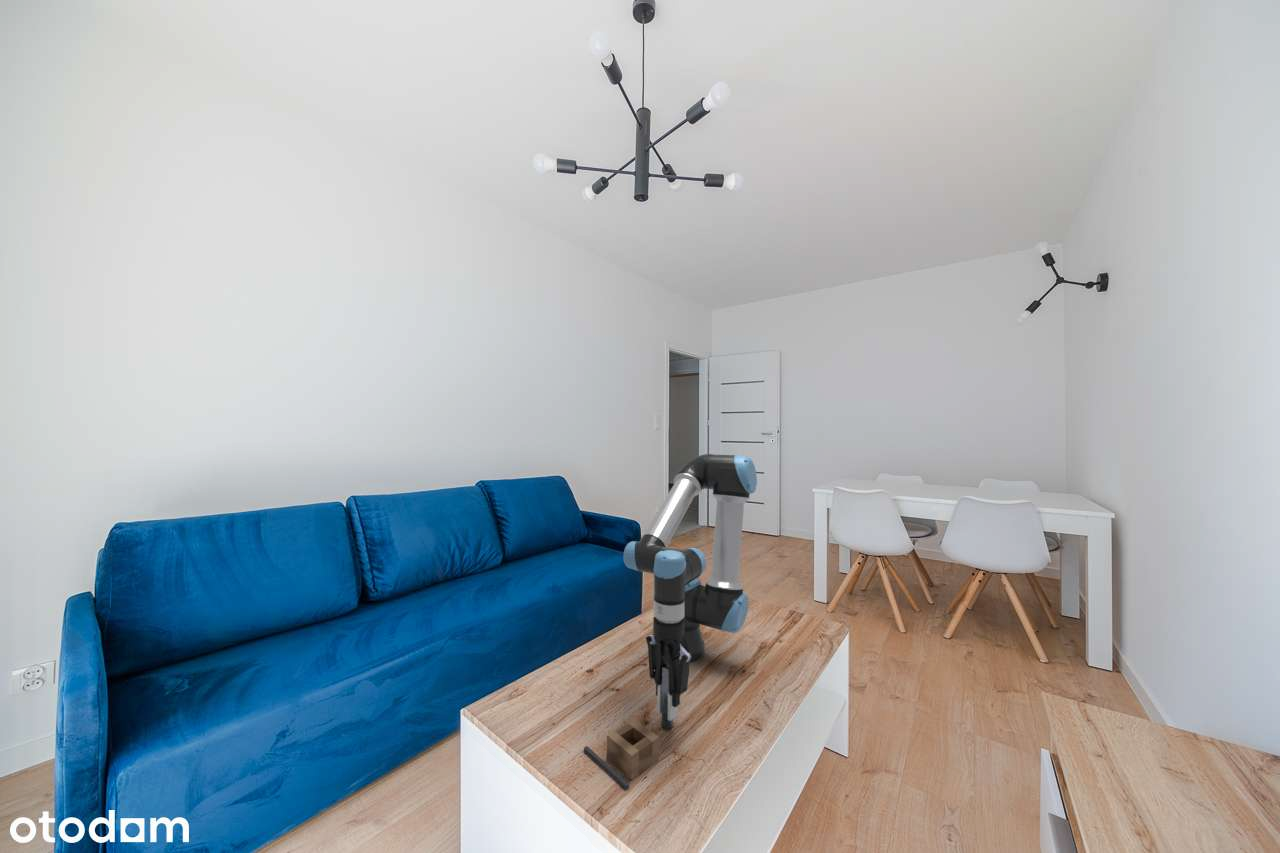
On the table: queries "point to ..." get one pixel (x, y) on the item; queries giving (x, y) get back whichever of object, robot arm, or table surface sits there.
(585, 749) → the dark grey rod
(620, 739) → the bead block
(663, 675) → the dark grey peg
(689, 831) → the table surface
